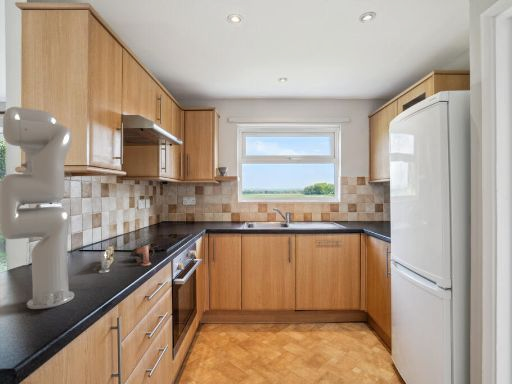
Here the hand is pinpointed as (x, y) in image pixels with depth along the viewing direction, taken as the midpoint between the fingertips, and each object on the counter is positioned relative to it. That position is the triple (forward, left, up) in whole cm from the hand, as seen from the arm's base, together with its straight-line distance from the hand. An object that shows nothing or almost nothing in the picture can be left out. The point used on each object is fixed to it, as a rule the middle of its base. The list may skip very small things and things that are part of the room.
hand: (37, 204), depth 123 cm
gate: (-11, -26, -31) cm, 42 cm away
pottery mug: (-14, -41, -31) cm, 54 cm away
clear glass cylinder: (-21, -21, -31) cm, 43 cm away
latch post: (-23, -39, -31) cm, 55 cm away
